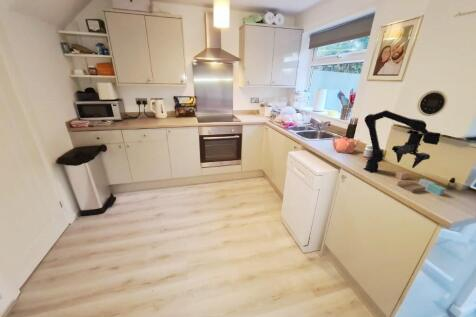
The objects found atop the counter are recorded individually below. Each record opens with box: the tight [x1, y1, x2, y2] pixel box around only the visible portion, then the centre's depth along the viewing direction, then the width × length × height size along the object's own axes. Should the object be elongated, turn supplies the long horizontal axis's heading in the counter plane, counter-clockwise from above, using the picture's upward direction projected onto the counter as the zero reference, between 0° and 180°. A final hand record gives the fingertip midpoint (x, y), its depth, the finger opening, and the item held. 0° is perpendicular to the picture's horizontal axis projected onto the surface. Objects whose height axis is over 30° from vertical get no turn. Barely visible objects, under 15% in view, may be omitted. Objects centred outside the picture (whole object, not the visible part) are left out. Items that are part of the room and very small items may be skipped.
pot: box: [330, 135, 361, 154], centre depth 178 cm, size 18×17×12 cm
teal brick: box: [426, 183, 447, 196], centre depth 113 cm, size 6×4×4 cm, turn 16°
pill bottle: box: [362, 143, 373, 161], centre depth 161 cm, size 6×6×11 cm
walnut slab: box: [396, 179, 426, 194], centre depth 117 cm, size 9×9×3 cm
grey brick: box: [418, 178, 437, 190], centre depth 119 cm, size 6×4×4 cm, turn 16°
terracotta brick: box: [394, 170, 410, 180], centre depth 130 cm, size 6×4×4 cm, turn 106°
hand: (405, 165), depth 127 cm, fingers open, 9 cm apart
